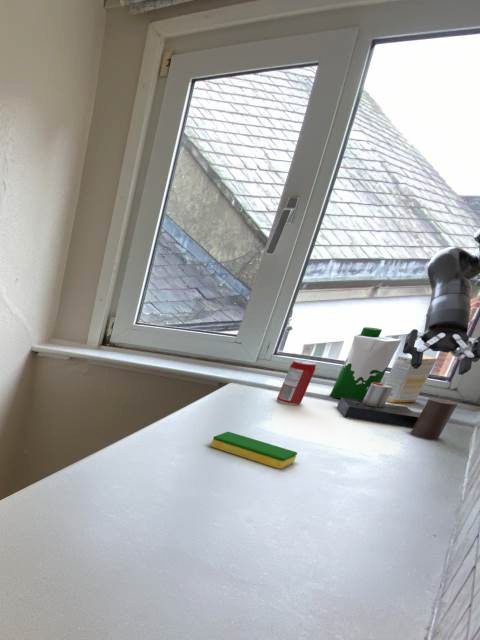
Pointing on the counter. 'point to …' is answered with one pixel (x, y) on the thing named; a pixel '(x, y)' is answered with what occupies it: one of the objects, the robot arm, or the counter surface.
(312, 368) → the soda can
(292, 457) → the dish sponge
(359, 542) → the counter surface
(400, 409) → the panel
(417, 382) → the supplement box
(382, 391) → the hob knob
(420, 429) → the dark brown cylinder
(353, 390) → the milk carton
